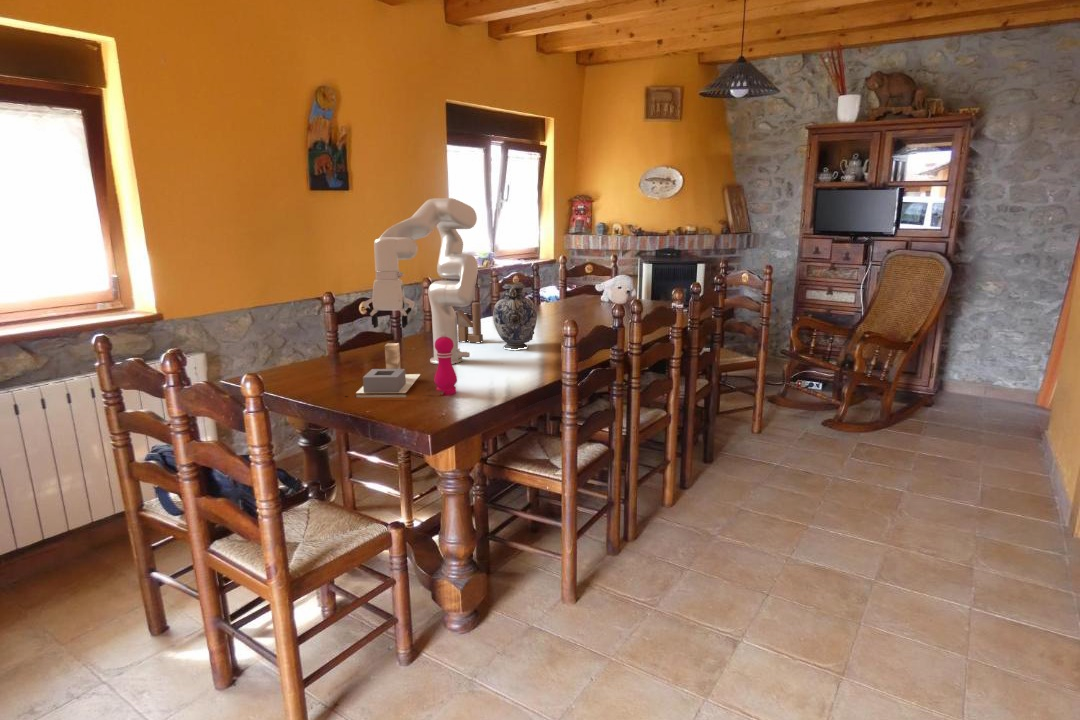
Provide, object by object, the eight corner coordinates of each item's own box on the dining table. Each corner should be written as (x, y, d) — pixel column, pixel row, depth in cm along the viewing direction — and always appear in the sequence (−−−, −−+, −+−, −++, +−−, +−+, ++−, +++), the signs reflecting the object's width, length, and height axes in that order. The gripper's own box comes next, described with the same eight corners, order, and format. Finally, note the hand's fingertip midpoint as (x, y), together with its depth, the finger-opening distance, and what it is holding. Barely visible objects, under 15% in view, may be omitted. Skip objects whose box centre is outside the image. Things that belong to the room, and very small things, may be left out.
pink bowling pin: (442, 389, 213) (439, 329, 209) (461, 391, 211) (459, 330, 206) (430, 394, 207) (427, 333, 202) (450, 396, 204) (447, 334, 200)
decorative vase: (536, 353, 266) (534, 285, 260) (491, 353, 267) (489, 286, 261) (538, 343, 287) (537, 280, 280) (497, 343, 287) (494, 280, 281)
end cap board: (420, 378, 228) (419, 360, 226) (406, 397, 204) (404, 377, 203) (375, 378, 228) (374, 360, 226) (355, 397, 204) (354, 377, 203)
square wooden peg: (401, 377, 223) (399, 343, 221) (398, 380, 220) (396, 345, 217) (389, 377, 223) (387, 343, 221) (386, 380, 220) (384, 345, 217)
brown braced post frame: (462, 340, 294) (460, 301, 290) (483, 342, 290) (482, 302, 286) (458, 342, 290) (456, 302, 286) (479, 343, 286) (478, 303, 282)
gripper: (415, 275, 217) (417, 325, 221) (364, 275, 217) (367, 325, 221) (411, 277, 210) (413, 328, 213) (358, 277, 210) (361, 328, 214)
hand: (390, 327), depth 217 cm, fingers open, 9 cm apart
